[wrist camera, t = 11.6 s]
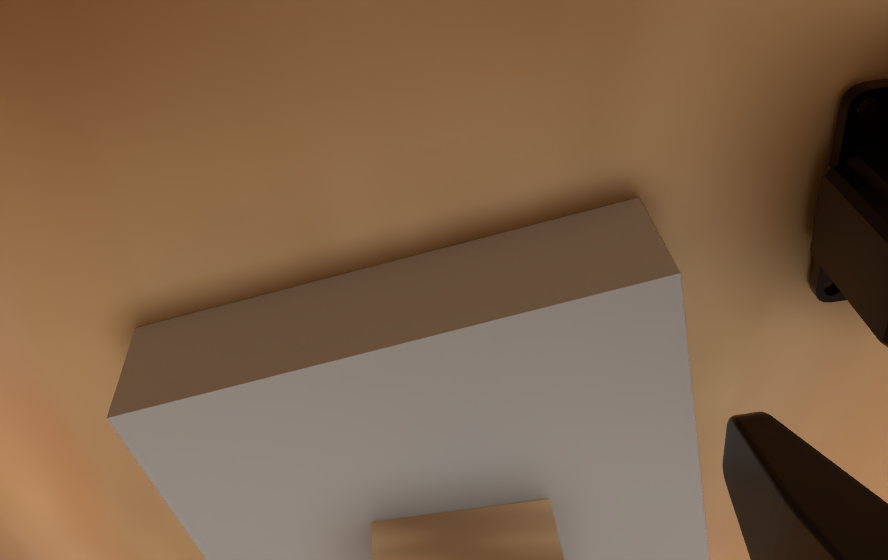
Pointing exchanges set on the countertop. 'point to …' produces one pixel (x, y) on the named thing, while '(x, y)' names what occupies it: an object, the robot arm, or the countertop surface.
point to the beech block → (471, 534)
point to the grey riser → (433, 399)
